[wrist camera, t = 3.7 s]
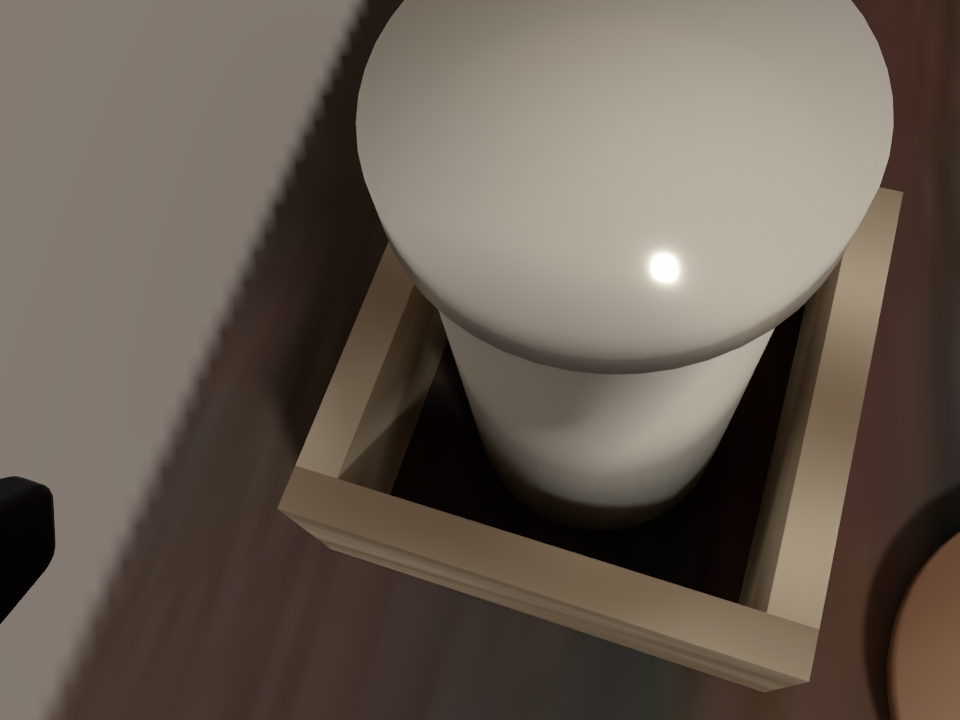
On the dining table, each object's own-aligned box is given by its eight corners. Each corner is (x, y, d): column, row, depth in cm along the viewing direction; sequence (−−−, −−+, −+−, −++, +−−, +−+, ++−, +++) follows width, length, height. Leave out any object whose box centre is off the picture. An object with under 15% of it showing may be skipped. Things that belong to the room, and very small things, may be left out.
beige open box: (764, 692, 21) (809, 681, 17) (330, 548, 23) (277, 508, 19) (849, 282, 25) (903, 192, 21) (468, 194, 27) (448, 97, 23)
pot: (433, 339, 26) (305, -10, 14) (672, 259, 26) (753, -153, 14) (512, 584, 23) (438, 415, 11) (780, 493, 23) (1001, 229, 11)
